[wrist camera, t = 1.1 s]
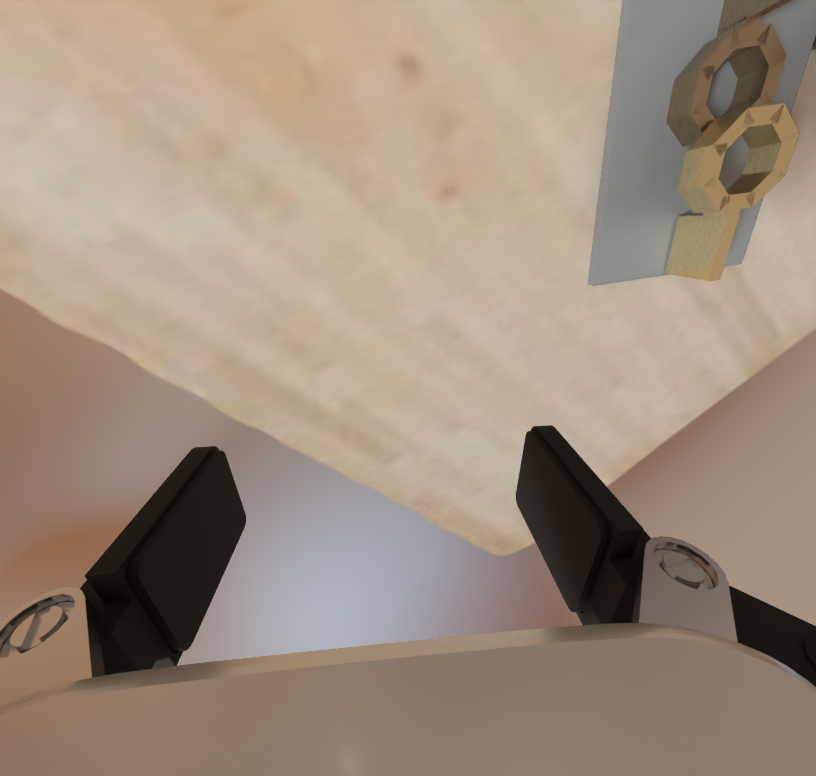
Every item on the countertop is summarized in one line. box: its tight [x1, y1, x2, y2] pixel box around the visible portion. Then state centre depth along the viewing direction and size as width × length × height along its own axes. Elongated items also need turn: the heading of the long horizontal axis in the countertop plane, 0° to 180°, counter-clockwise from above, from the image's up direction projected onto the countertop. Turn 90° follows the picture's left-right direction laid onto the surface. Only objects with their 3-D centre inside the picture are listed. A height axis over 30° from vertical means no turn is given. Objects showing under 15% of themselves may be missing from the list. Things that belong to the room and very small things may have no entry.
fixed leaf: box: [666, 0, 791, 147], centre depth 27 cm, size 14×8×6 cm, turn 7°
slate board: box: [588, 0, 816, 286], centre depth 33 cm, size 27×18×1 cm, turn 7°
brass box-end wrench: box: [666, 103, 799, 281], centre depth 33 cm, size 14×8×6 cm, turn 7°
